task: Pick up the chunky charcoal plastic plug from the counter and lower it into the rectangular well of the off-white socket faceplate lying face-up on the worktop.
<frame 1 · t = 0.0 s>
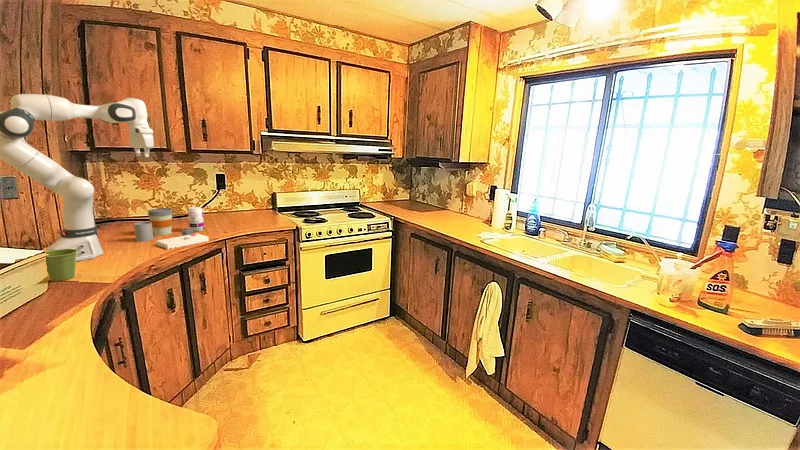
hand: (142, 156, 192), 48 cm above the worktop, fingers open, 8 cm apart
plant pot: (63, 278, 147), on the worktop
reusable coffee cup: (163, 233, 222), on the worktop
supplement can: (197, 230, 231), on the worktop
socket plate: (183, 242, 203), on the worktop
plug: (188, 237, 215), on the worktop
cup: (145, 240, 207), on the worktop
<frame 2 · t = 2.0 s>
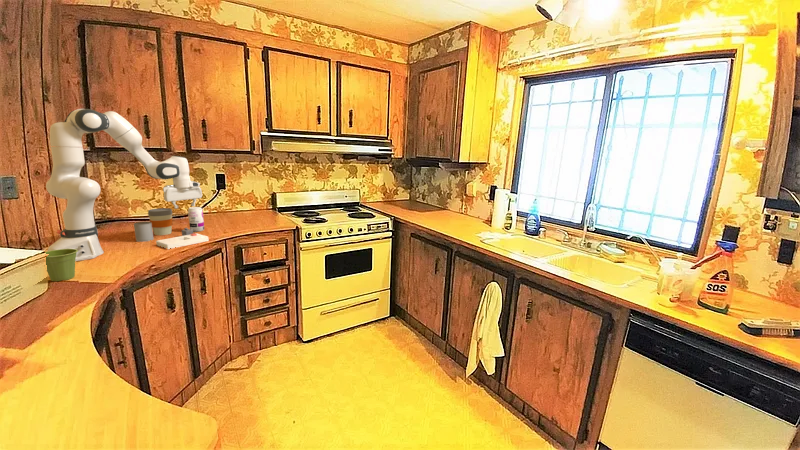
hand: (184, 207, 211), 18 cm above the worktop, fingers open, 8 cm apart
nothing on the worktop moved.
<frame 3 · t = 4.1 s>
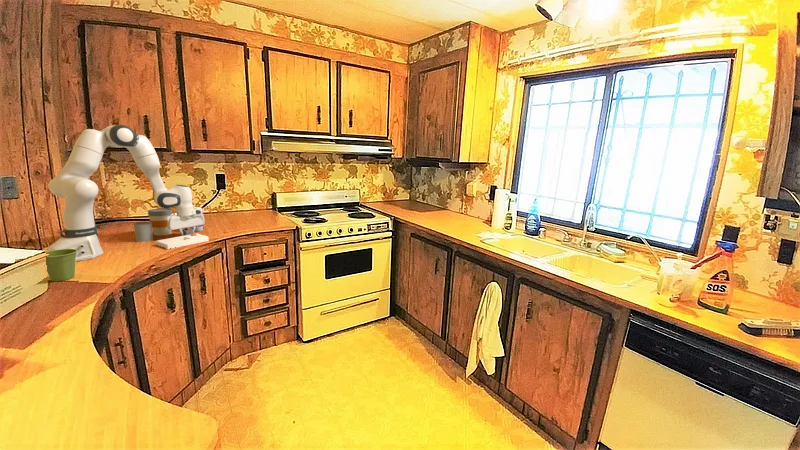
hand: (187, 234, 215), 2 cm above the worktop, fingers closed on plug, 4 cm apart
plug: (188, 237, 215), on the worktop, touching gripper
everything else where it was.
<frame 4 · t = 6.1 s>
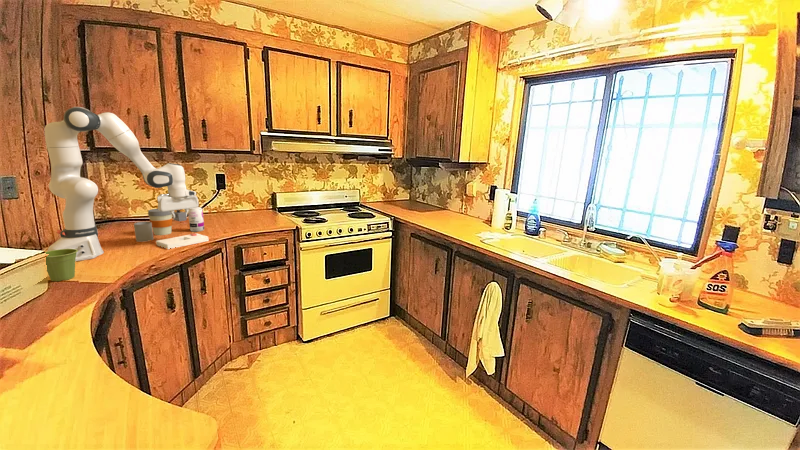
hand: (180, 217, 200), 15 cm above the worktop, fingers closed on plug, 4 cm apart
plug: (180, 220, 200), point 13 cm above the worktop, touching gripper
everything else where it was.
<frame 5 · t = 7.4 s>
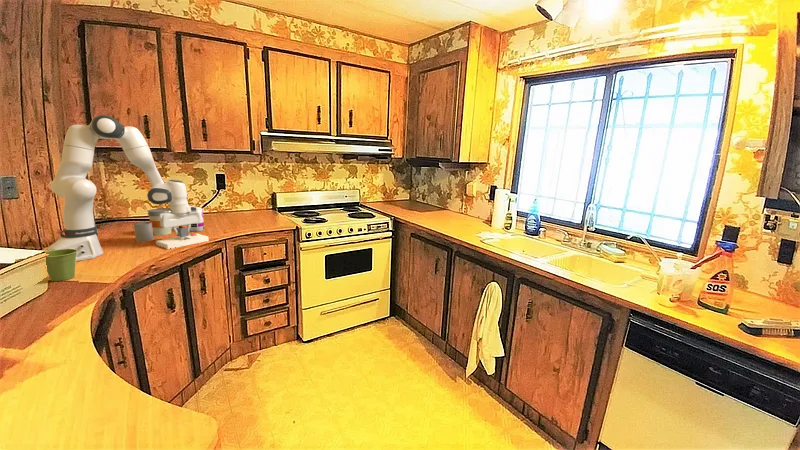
hand: (182, 233, 202), 6 cm above the worktop, fingers closed on plug, 4 cm apart
plug: (182, 235, 202), point 4 cm above the worktop, touching gripper
everything else where it was.
when the fingers open (3 cm above the worktop, at t = 8.2 s): plug drops 2 cm, resting in socket plate.
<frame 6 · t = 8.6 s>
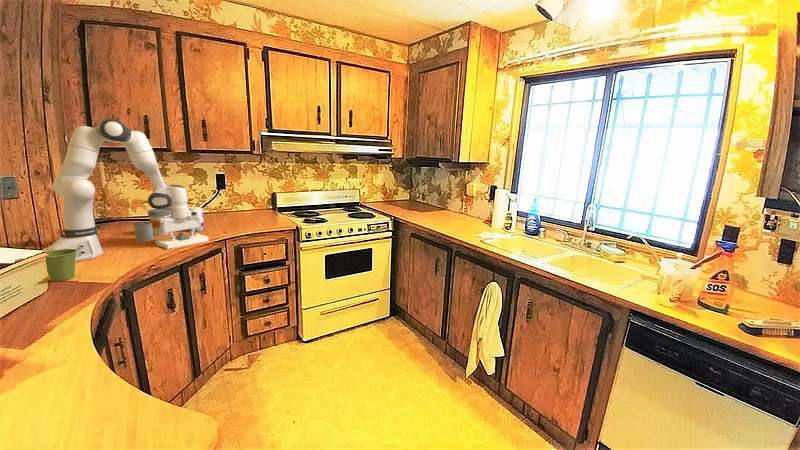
hand: (182, 237, 202), 3 cm above the worktop, fingers open, 8 cm apart
plug: (183, 243, 202), resting in socket plate
everything else where it was.
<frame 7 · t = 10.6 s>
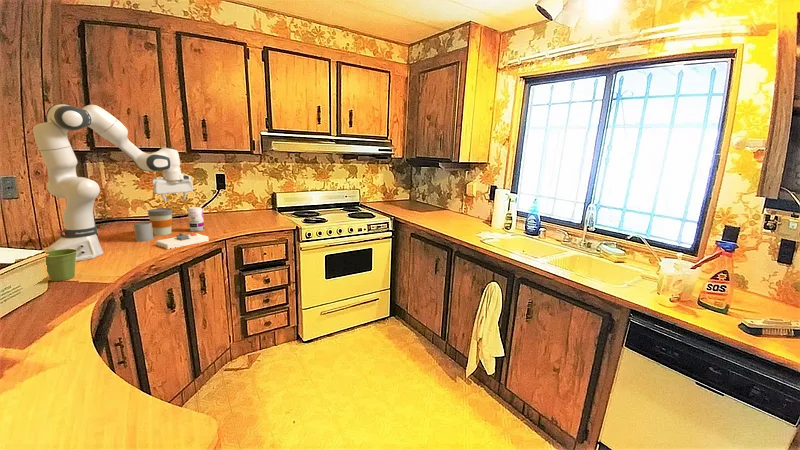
hand: (175, 200, 206), 23 cm above the worktop, fingers open, 8 cm apart
nothing on the worktop moved.
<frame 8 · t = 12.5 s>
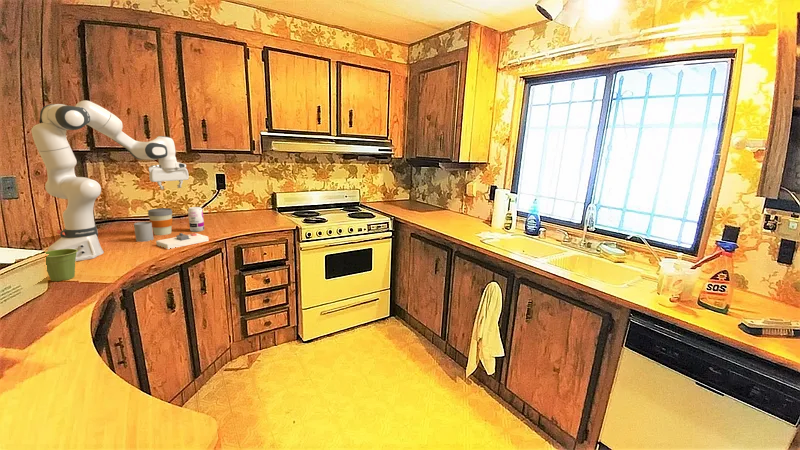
hand: (171, 188, 210), 29 cm above the worktop, fingers open, 8 cm apart
nothing on the worktop moved.
at the end: plug 0.0 cm off-centre on the socket plate, point 0.0 cm above the socket plate's base; plug tilted 0°; the gripper is holding nothing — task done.
